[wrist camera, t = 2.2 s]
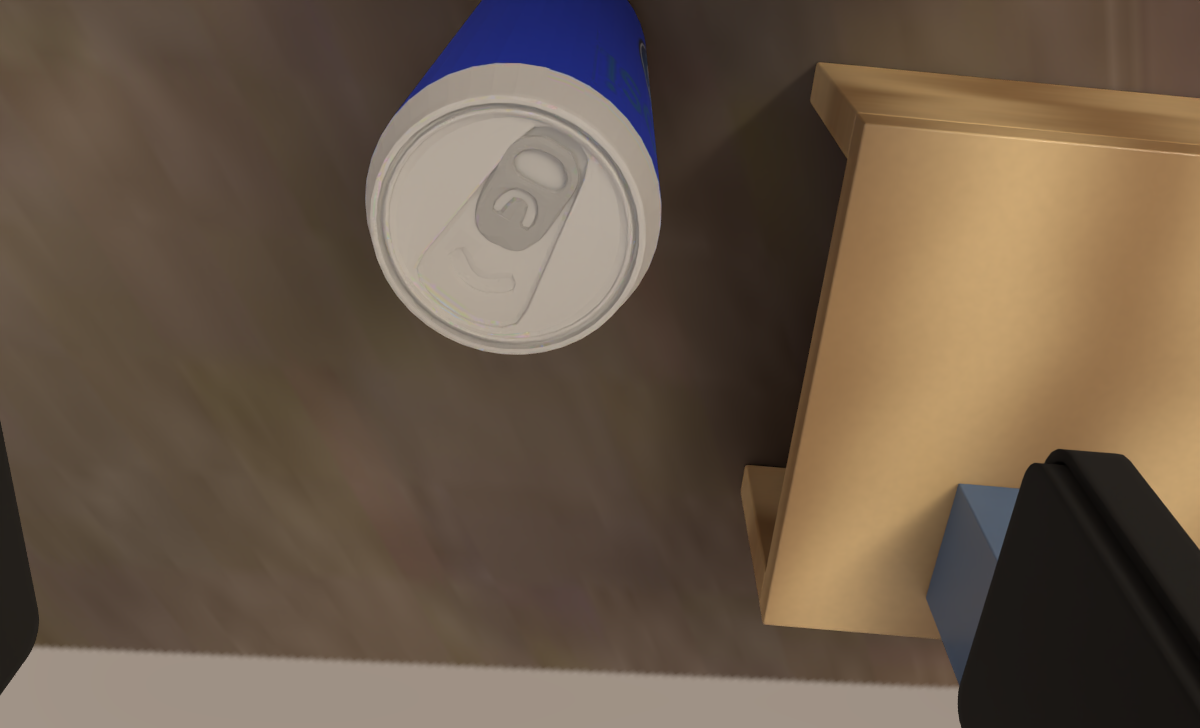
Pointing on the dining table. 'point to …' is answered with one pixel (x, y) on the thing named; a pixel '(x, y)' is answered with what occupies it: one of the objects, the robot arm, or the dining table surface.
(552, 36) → the beverage can
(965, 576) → the blue block
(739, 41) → the dining table surface
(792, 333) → the dining table surface
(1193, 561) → the robot arm
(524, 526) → the dining table surface
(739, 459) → the dining table surface
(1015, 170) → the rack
